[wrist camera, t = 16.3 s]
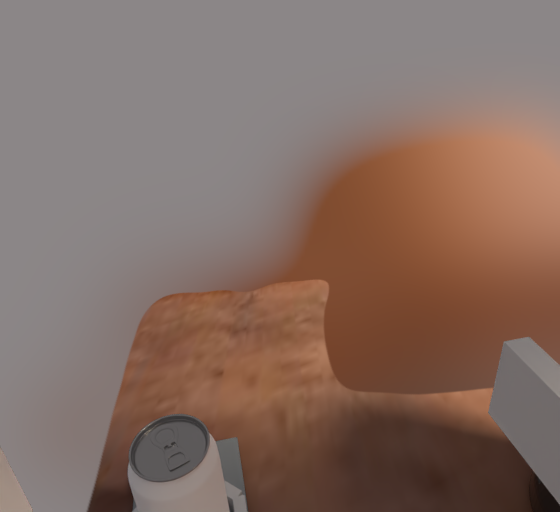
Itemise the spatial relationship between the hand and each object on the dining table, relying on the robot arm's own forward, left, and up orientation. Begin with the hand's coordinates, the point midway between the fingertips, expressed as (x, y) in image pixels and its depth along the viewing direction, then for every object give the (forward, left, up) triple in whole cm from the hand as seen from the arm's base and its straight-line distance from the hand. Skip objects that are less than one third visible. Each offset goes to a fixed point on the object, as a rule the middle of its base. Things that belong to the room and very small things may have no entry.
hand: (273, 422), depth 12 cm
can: (+6, -15, -29) cm, 33 cm away
